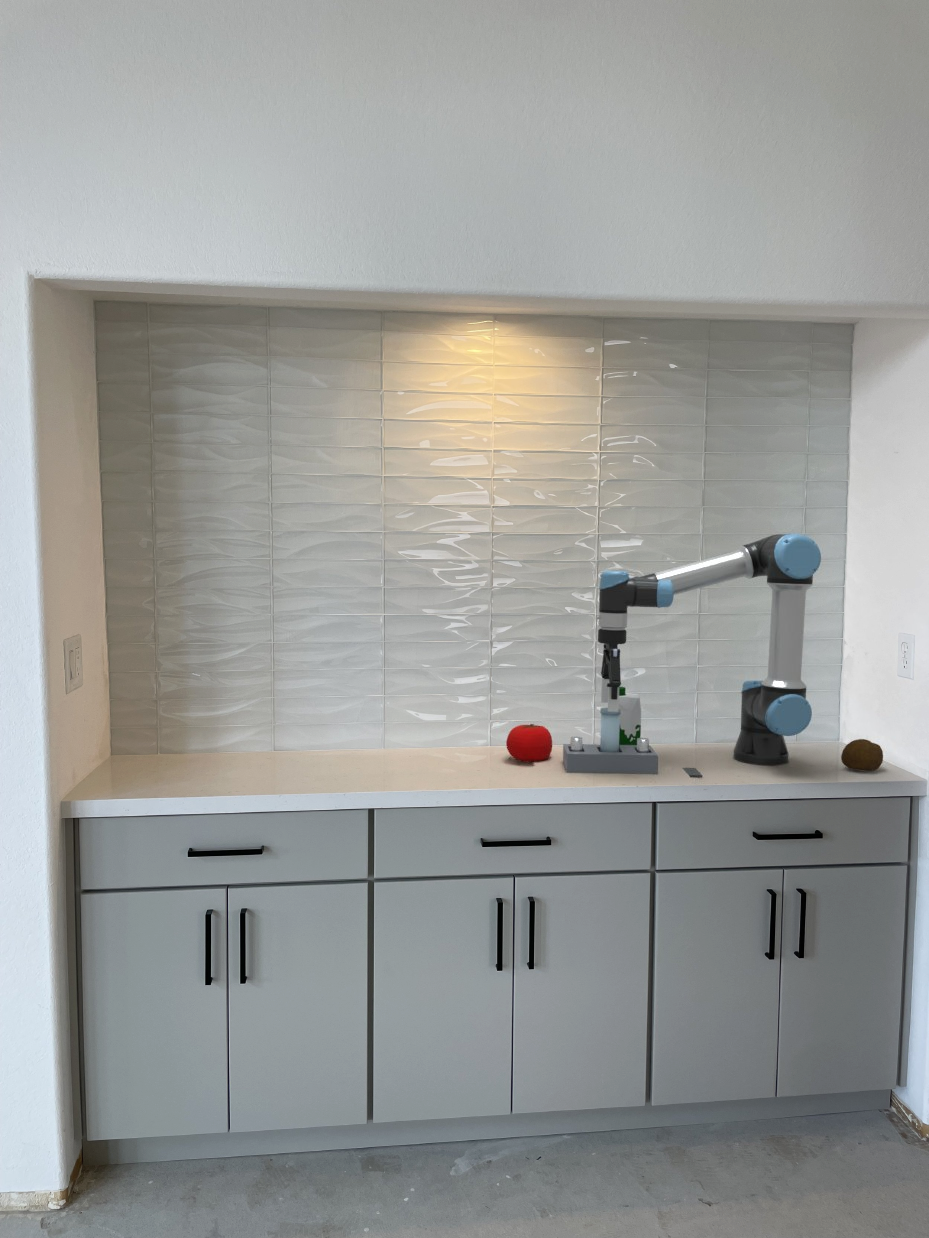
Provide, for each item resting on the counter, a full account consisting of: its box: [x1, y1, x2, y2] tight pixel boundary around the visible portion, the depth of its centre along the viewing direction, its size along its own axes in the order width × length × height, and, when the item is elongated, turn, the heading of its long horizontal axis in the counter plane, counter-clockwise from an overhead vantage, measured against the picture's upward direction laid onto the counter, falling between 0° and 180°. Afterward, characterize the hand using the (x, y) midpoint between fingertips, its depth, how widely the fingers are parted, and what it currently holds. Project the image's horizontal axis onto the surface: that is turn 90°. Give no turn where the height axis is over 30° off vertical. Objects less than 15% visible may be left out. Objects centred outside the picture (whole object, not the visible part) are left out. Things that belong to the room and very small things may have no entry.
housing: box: [562, 743, 659, 775], centre depth 244 cm, size 24×12×6 cm, turn 89°
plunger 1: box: [569, 736, 583, 752], centre depth 244 cm, size 3×3×7 cm
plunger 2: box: [637, 737, 650, 753], centre depth 243 cm, size 3×3×7 cm
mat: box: [682, 767, 703, 779], centre depth 243 cm, size 8×8×1 cm
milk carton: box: [619, 686, 642, 745], centre depth 262 cm, size 9×9×20 cm
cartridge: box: [599, 707, 621, 752], centre depth 243 cm, size 5×5×16 cm
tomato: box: [505, 723, 553, 763], centre depth 255 cm, size 14×13×10 cm
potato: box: [840, 738, 884, 772], centre depth 248 cm, size 8×12×9 cm
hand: (609, 706), depth 243 cm, fingers open, 13 cm apart
